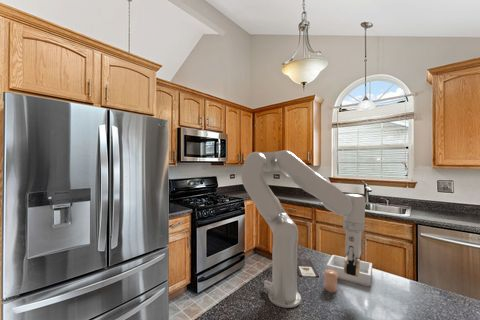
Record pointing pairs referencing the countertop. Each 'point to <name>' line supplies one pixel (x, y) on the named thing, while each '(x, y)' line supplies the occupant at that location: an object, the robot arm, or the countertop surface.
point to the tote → (364, 275)
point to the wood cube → (357, 263)
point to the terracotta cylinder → (330, 280)
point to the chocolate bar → (306, 268)
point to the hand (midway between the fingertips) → (351, 271)
